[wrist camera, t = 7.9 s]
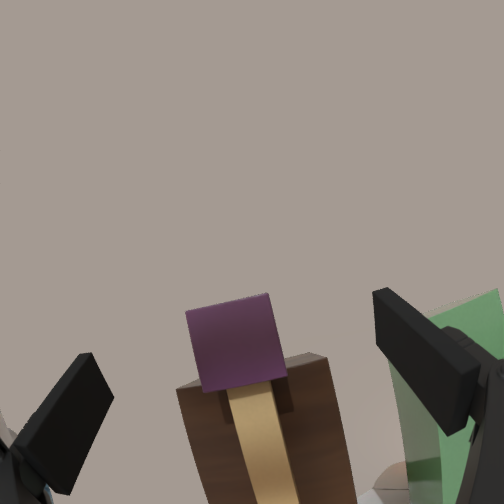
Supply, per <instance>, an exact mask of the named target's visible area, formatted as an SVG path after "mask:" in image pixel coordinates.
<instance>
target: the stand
mask: <svg viewBox="0 0 504 504" xmlns="http://www.w3.org/2000/svg"><path fill="white" fill-rule="evenodd" d="M284 360H285V365H286V369H287V373H288V376H287V377H283V378H278V379H274V380H270V381H271V385H272V389H273V393H274V397H275V401H276V405H277V410H278V414H279V418H280V422H281V426H282V430H283V434H284V438H285V442H286V446H287V450H288V454H289V458H290V462H291V466H292V470H293V474H294V478H295V482H296V486H297V490H298V494H299V498H300V502H301V504H357V498H356V493H355V488H354V483H353V476H352V471H351V465H350V460H349V455H348V450H347V445H346V440H345V435H344V430H343V425H342V421H341V416H340V411H339V407H338V402H337V398H336V393H335V389H334V385H333V380H332V376H331V371H330V367H329V363H328V359H327V357H323V356H320V355H316V354H313V353H310V352H309V353H305V354H301V355H297V356H293V357H289V358H285V359H284ZM176 392H177V396H178V401H179V405H180V409H181V413H182V417H183V420H184V424H185V428H186V432H187V435H188V439H189V442H190V446H191V449H192V453H193V456H194V460H195V463H196V466H197V469H198V473H199V476H200V479H201V482H202V485H203V488H204V491H205V494H206V497H207V500H208V503H209V504H258V503H257V500H256V496H255V493H254V490H253V486H252V483H251V480H250V476H249V473H248V469H247V466H246V463H245V459H244V455H243V452H242V448H241V445H240V441H239V437H238V434H237V430H236V426H235V422H234V419H233V415H232V411H231V407H230V403H229V399H228V395H227V391H226V389H225V390H220V391H214V392H208V393H204V392H203V390H202V386H201V382H200V378H199V379H197V380H195V381H193V382H191V383H189V384H186V385H184V386H182V387H180V388H177V389H176Z"/></svg>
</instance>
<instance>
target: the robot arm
mask: <svg viewBox="0 0 504 504" xmlns="http://www.w3.org/2000/svg"><path fill="white" fill-rule="evenodd" d="M372 294H373V305H374V318H375V332H376V345H377V346H378V347H379V348H380V350H381V351H382V352H383V354H384V355H385V356H386V357H387V359H388V360H389V361H390V362H391V364H392V365H393V366H394V368H395V369H396V370H397V371H398V373H399V374H400V375H401V377H402V378H403V379H404V380H405V382H406V383H407V384H408V386H409V387H410V388H411V389H412V391H413V392H414V393H415V395H416V396H417V397H418V399H419V400H420V401H421V403H422V404H423V405H424V407H425V408H426V409H427V411H428V412H429V413H430V415H431V416H432V417H433V419H434V420H435V421H436V423H437V424H438V425H439V427H440V428H441V429H442V431H443V432H444V433H445V435H446V436H447V437H449V436H451V435H453V434H455V433H457V432H458V431H460V430H462V429H464V428H466V425H467V422H468V418H469V415H470V416H471V418H472V419H473V420H474V421H475V424H474V428H473V431H472V434H471V436H470V439H469V442H471V444H470V449H469V454H468V458H467V463H466V467H465V471H464V475H463V479H462V483H461V486H460V490H459V493H458V497H457V500H456V503H455V504H504V358H503V359H499V360H498V359H497V358H495V357H494V356H493V355H492V354H490V353H489V352H488V351H487V350H485V349H484V348H483V347H482V346H480V345H479V344H478V343H477V342H476V343H475V341H474V340H473V339H471V338H470V337H469V338H468V335H466V334H465V333H464V332H462V331H461V330H460V329H457V328H454V327H451V326H446V327H444V328H441V329H440V328H439V327H437V326H436V325H435V324H434V323H433V322H431V321H430V320H429V319H428V318H426V317H425V316H424V315H423V314H421V313H420V312H419V311H417V310H416V309H415V308H414V307H412V306H411V305H410V304H409V303H407V302H406V301H405V300H404V299H402V298H401V297H400V296H398V295H397V294H396V293H395V292H393V291H392V290H391V289H389V288H388V287H386V288H383V289H380V290H376V291H373V292H372ZM113 399H114V396H113V394H112V392H111V390H110V388H109V387H108V384H107V382H106V381H105V379H104V377H103V375H102V373H101V371H100V369H99V367H98V365H97V363H96V361H95V359H94V356H93V354H92V353H83V354H79V355H78V356H77V358H76V359H75V360H74V362H73V363H72V364H71V365H70V367H69V368H68V369H67V371H66V372H65V373H64V374H63V376H62V377H61V378H60V380H59V381H58V382H57V384H56V385H55V386H54V388H53V389H52V390H51V392H50V393H49V394H48V396H47V397H46V398H45V400H44V401H43V402H42V404H41V405H40V406H39V408H38V409H37V411H36V412H34V413H33V414H32V416H31V417H30V419H29V420H28V423H26V424H25V426H24V427H23V428H24V429H22V430H21V431H20V433H19V434H18V435H17V434H16V433H15V432H13V431H12V430H11V429H9V428H7V426H6V424H5V421H4V419H3V417H2V414H1V411H0V504H54V503H53V499H52V495H51V492H50V489H49V487H50V488H51V489H52V490H53V491H54V492H55V493H58V494H64V495H70V494H71V492H72V489H73V487H74V484H75V482H76V480H77V477H78V475H79V473H80V470H81V468H82V466H83V464H84V461H85V459H86V457H87V454H88V452H89V450H90V448H91V446H92V444H93V441H94V439H95V437H96V435H97V433H98V431H99V429H100V426H101V424H102V422H103V420H104V418H105V416H106V413H107V411H108V409H109V407H110V405H111V403H112V401H113Z"/></svg>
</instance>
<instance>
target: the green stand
mask: <svg viewBox="0 0 504 504" xmlns="http://www.w3.org/2000/svg"><path fill="white" fill-rule="evenodd" d="M423 315H424V316H425V317H426V318H428V319H429V320H430V321H431V322H433V323H434V324H435V325H436V326H437V327H439V328H440V329H441V328H444V327H446V326H451V327H454V328H457V329H460V330H461V331H462V332H464V333H465V334H466V335H468V338H469V337H470V338H471V339H473V340H474V341H475V343H476V342H477V343H478V344H479V345H480V346H482V347H483V348H484V349H485V350H487V351H488V352H489V353H490V354H492V355H493V356H494V357H495V358H497V359H498V360H499V359H503V358H504V314H503V309H502V305H501V301H500V297H499V293H498V289H494V290H491V291H487V292H485V293H481V294H478V295H475V296H472V297H469V298H465V299H462V300H459V301H455V302H452V303H449V304H446V305H444V306H441V307H439V308H436V309H434V310H431V311H428V312H426V313H423ZM388 363H389V367H390V372H391V377H392V382H393V387H394V392H395V397H396V402H397V407H398V413H399V419H400V425H401V431H402V438H403V444H404V452H405V459H406V468H407V477H408V487H409V498H410V504H455V503H456V500H457V497H458V493H459V490H460V486H461V483H462V479H463V475H464V471H465V467H466V463H467V458H468V454H469V449H470V444H471V442H469V439H470V436H471V434H472V431H473V428H474V424H475V421H474V420H473V419H472V418H471V416H470V415H469V418H468V422H467V425H466V428H464V429H462V430H460V431H458V432H457V433H455V434H453V435H451V436H449V437H447V436H446V435H445V433H444V432H443V431H442V429H441V428H440V427H439V425H438V424H437V423H436V421H435V420H434V419H433V417H432V416H431V415H430V413H429V412H428V411H427V409H426V408H425V407H424V405H423V404H422V403H421V401H420V400H419V399H418V397H417V396H416V395H415V393H414V392H413V391H412V389H411V388H410V387H409V386H408V384H407V383H406V382H405V380H404V379H403V378H402V377H401V375H400V374H399V373H398V371H397V370H396V369H395V368H394V366H393V365H392V364H391V362H390V361H389V360H388Z"/></svg>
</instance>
